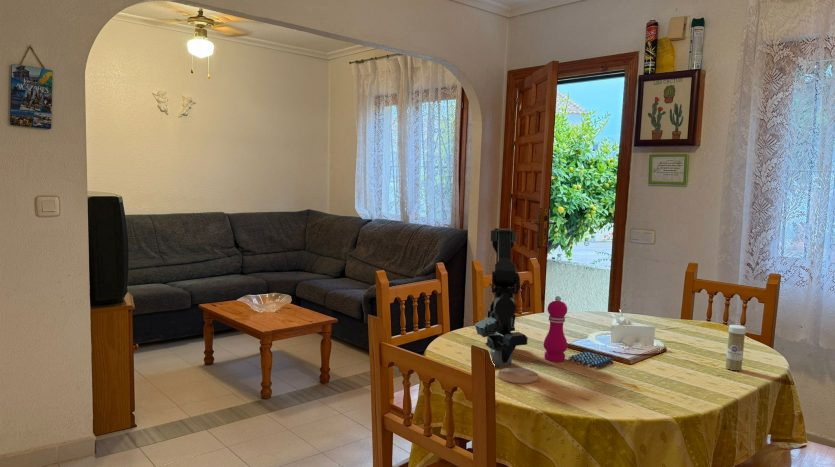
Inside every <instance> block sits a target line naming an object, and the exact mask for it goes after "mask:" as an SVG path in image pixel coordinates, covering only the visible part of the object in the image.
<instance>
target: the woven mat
mask: <svg viewBox="0 0 835 467" xmlns="http://www.w3.org/2000/svg"><path fill="white" fill-rule="evenodd" d="M567 360H568V361H567V362H569V363H574V364H577V365H581V366H584V367H587V368H590V369H594V370H598V369H601V368H603V367H605V366H608V365H610V364H614V361H613V360H614V358H612V357H609V356H608V357H607V356H605V355H600V354H597V353H593V352H590V351H582V352H580V353H577V354H574V355H571V356H569V357H567Z"/></svg>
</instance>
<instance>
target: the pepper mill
mask: <svg viewBox="0 0 835 467" xmlns="http://www.w3.org/2000/svg"><path fill="white" fill-rule="evenodd" d="M561 300H562V298H561V296H559V295H557V296H555V298H554V300H553V301H551V302H550V303H548V306H547V313H548V314H549V316H548V321H549V329H548V332H547V334H546V336H545V338H544V340H543V348H544V350H545V351H544V356H543V358H544V360H546V361H549V362H554V363H562V362H564V361H565V360H566V353H564V352H566V351H567V349H568V342H567V338H566V336H565V332H564V323H565V322H566V315H567V313H568V307H567V304H566V303H565V302H563V301H561Z"/></svg>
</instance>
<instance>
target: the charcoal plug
mask: <svg viewBox="0 0 835 467" xmlns="http://www.w3.org/2000/svg"><path fill="white" fill-rule="evenodd" d="M489 355H491V358H492V361H493V363H494V364H495V367H494V368H502V367H510V366H511V365H512V363H513V353H512V354H511V355H510V357H509V359H508V361H507V362H506V363H503V359H502V347H501V348H491V349H490V352H489Z"/></svg>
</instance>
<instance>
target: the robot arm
mask: <svg viewBox="0 0 835 467" xmlns="http://www.w3.org/2000/svg"><path fill="white" fill-rule="evenodd" d="M489 232H490V234H489V235H490V236H489V241H490V243H491V248H492V250H493V252H494V254H495V264H494V268H493V271H491V293H493V294H494V295H493V301H492V302H491V303H490V305H489V310H487V313H486V318H484V319H481V320H479V321H478V322H476V323H474V326H475V329H476V330H475V331H476V333H477V335H479V336H481V337H483V338H486V342H485V345H487V346H489V347H490V348H491V349H493V348H501V347H502V359H503V363H506V362H507V361H508V359H509V357H510V355H511V354H512V355H513V352H514V350H515V348H517V346H526V345H528V336H527V335H526V334H524V333H522V332H520V331H516V328H515V324H516V323H515V322H516V313H515V312H516V303H515V300H514V297H515V296H514V295H515V294H516V295H518V294H519V291H521V277H520V275H519V272H517V269H516V264H515V263H514V262H513V261H512V249H513V248H514V243H517V231H515V230H513V228H501V227H494V228H493V230H490V231H489Z"/></svg>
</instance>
